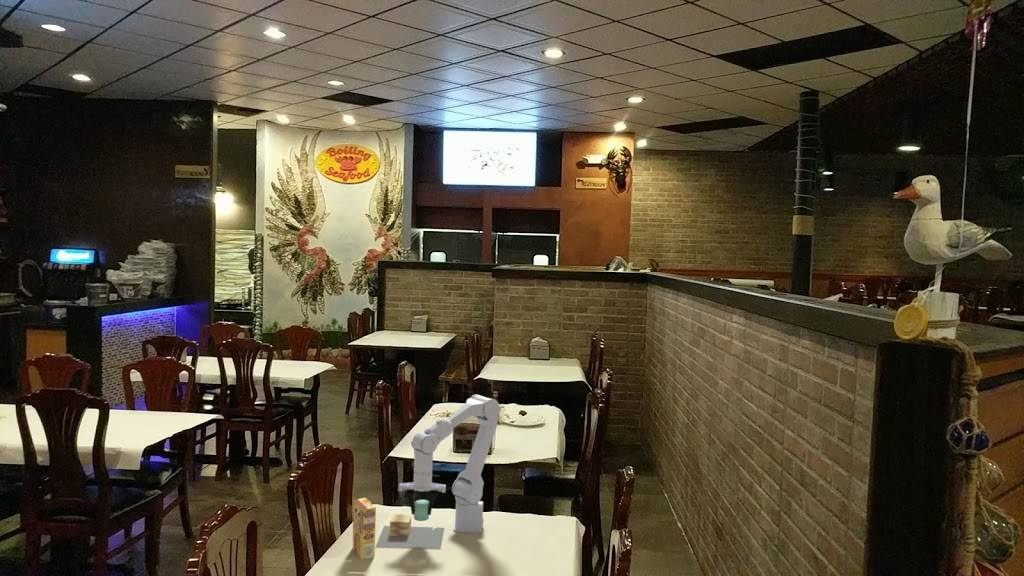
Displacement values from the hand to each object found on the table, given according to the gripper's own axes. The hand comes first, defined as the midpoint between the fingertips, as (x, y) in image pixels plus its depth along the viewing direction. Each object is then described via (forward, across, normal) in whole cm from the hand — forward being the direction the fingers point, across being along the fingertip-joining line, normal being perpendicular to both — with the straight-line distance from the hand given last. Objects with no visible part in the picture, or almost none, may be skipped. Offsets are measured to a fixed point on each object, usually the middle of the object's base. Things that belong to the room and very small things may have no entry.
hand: (421, 513), depth 201 cm
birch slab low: (+9, -7, +6) cm, 13 cm away
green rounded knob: (+1, 0, 0) cm, 1 cm away
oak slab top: (+6, -7, +6) cm, 11 cm away
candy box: (+9, -16, -9) cm, 21 cm away
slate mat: (+9, -3, +2) cm, 10 cm away
